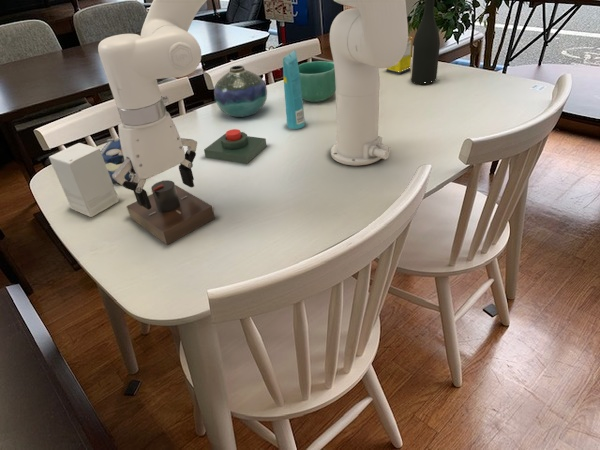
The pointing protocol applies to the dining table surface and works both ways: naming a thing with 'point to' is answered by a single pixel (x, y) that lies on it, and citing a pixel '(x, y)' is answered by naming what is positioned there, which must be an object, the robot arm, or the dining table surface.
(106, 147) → the spray gun
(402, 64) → the supplement box
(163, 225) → the panel
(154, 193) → the dial
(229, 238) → the dining table surface
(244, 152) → the button block
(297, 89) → the tube
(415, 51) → the wine bottle
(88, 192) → the white packaging box
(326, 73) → the mug
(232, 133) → the button
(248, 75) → the vase
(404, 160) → the dining table surface
